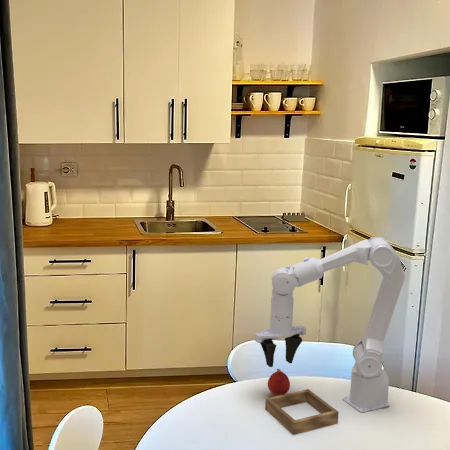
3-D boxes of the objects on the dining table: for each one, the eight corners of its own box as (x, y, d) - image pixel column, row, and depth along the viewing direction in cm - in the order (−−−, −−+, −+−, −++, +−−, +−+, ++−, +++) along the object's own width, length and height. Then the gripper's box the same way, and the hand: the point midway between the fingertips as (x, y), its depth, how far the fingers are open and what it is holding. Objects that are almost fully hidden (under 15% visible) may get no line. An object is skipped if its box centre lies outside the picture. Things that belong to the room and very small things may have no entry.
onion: (287, 391, 159) (288, 364, 158) (290, 402, 154) (292, 373, 152) (266, 391, 159) (267, 364, 158) (268, 402, 153) (269, 373, 152)
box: (307, 399, 155) (308, 389, 155) (337, 423, 144) (338, 411, 143) (265, 409, 150) (265, 398, 149) (293, 434, 138) (293, 423, 138)
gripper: (296, 306, 159) (294, 353, 161) (249, 313, 152) (247, 362, 155) (311, 314, 153) (308, 363, 155) (263, 322, 146) (261, 373, 149)
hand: (279, 363), depth 155 cm, fingers open, 5 cm apart
